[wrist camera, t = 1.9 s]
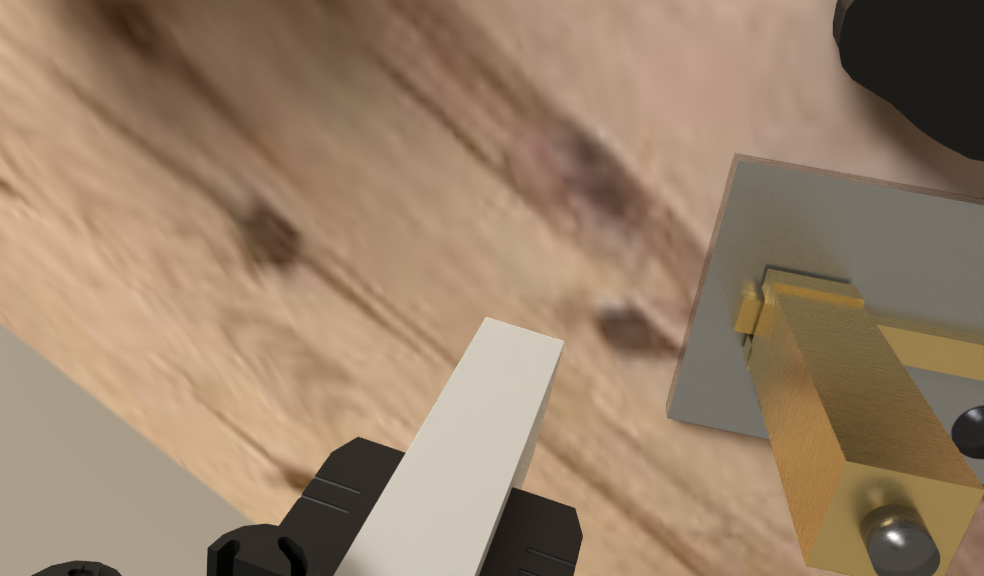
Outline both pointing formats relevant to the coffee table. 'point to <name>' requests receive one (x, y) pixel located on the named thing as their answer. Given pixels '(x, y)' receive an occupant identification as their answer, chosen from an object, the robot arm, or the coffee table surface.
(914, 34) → the black sponge
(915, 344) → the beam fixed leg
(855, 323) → the sliding leg
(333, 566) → the robot arm
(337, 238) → the coffee table surface
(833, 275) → the steel plate
